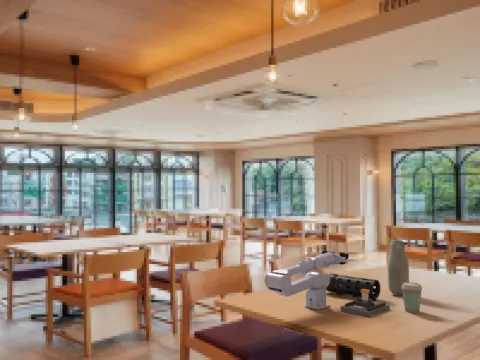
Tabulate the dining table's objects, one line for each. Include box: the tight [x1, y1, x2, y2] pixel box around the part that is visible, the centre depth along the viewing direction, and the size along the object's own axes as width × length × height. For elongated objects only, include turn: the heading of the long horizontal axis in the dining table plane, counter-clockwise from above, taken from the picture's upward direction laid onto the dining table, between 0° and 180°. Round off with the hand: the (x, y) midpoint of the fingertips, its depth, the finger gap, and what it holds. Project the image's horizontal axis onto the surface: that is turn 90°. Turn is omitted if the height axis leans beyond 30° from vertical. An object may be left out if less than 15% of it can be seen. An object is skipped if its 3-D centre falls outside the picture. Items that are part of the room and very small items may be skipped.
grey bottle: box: [386, 239, 410, 296], centre depth 232 cm, size 10×10×28 cm
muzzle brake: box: [326, 272, 381, 301], centre depth 230 cm, size 10×28×10 cm, turn 48°
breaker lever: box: [361, 289, 369, 301], centre depth 204 cm, size 2×3×4 cm, turn 44°
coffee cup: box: [402, 281, 423, 314], centre depth 201 cm, size 8×8×12 cm
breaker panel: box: [340, 297, 391, 318], centre depth 204 cm, size 18×14×5 cm
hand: (341, 254), depth 225 cm, fingers open, 7 cm apart
